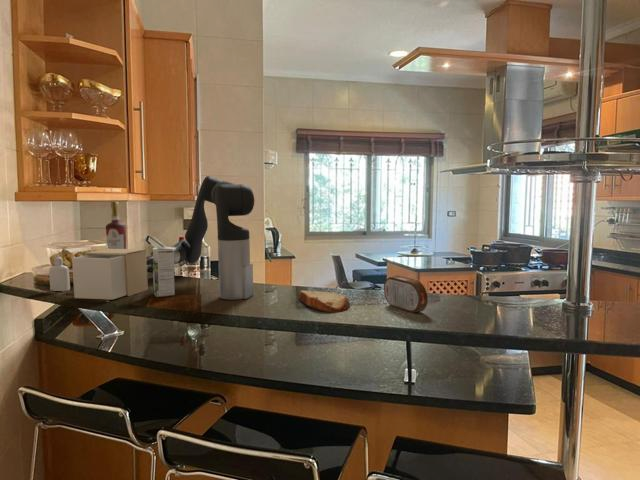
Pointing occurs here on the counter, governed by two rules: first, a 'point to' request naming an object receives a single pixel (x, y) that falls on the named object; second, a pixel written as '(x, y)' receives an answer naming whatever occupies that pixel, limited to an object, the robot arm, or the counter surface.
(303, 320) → the counter surface
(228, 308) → the counter surface
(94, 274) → the plain white carton
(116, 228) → the liquor
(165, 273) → the syrup box
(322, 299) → the slice of bread
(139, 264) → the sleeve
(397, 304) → the tin
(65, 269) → the eye dropper bottle
